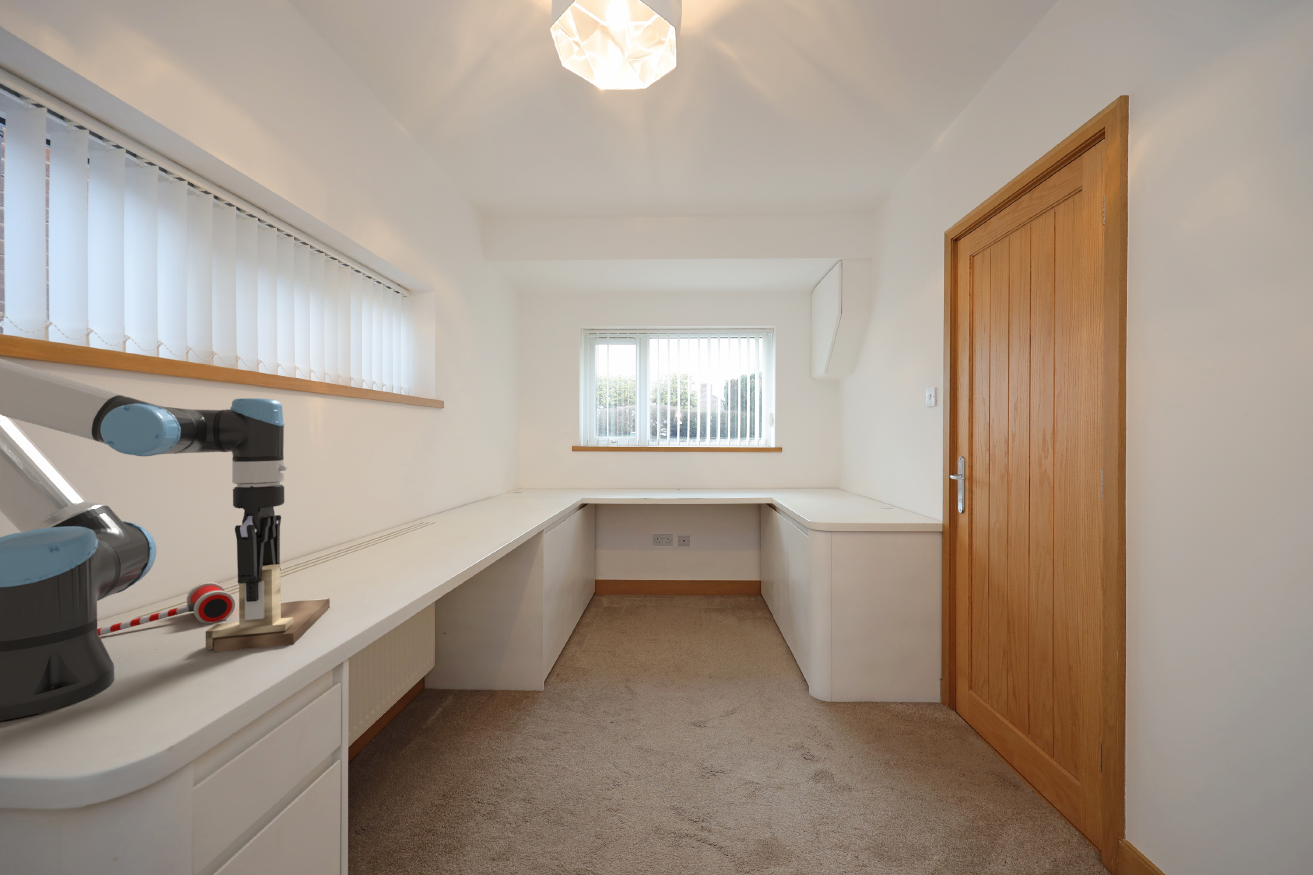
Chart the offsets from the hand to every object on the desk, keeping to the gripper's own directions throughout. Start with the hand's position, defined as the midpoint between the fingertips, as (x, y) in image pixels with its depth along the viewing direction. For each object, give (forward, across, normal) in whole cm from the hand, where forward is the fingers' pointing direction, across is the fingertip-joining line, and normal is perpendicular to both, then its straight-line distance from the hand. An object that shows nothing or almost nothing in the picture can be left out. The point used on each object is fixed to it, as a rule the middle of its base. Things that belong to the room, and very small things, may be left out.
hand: (260, 614), depth 99 cm
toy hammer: (+6, +17, +21) cm, 28 cm away
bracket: (+5, 0, +2) cm, 5 cm away
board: (+5, +8, 0) cm, 10 cm away
